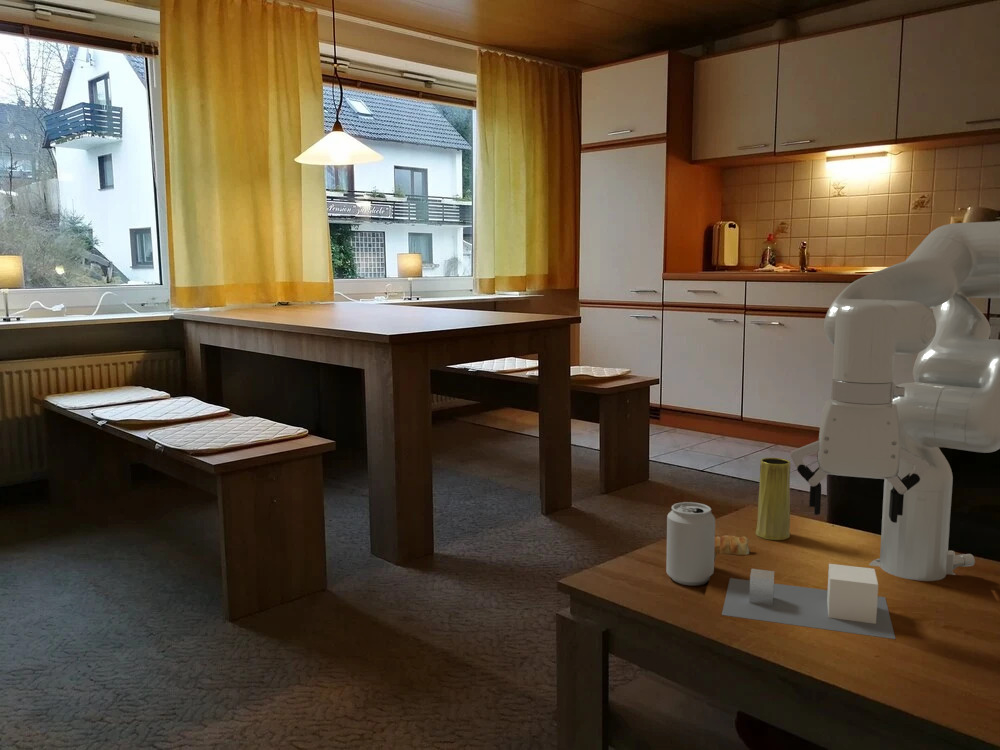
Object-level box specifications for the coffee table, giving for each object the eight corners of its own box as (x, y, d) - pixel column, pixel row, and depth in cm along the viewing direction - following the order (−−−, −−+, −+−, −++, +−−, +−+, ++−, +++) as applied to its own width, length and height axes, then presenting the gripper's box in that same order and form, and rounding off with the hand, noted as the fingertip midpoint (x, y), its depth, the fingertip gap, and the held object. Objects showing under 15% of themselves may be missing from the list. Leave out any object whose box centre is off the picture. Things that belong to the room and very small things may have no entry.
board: (884, 606, 116) (885, 597, 116) (894, 649, 103) (895, 638, 103) (729, 587, 124) (729, 578, 124) (721, 624, 111) (721, 614, 111)
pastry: (693, 561, 136) (694, 539, 135) (694, 548, 142) (694, 527, 142) (750, 565, 134) (751, 544, 133) (748, 552, 140) (749, 531, 140)
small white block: (773, 597, 117) (774, 571, 116) (772, 605, 114) (773, 579, 113) (750, 594, 118) (751, 568, 117) (749, 602, 115) (750, 576, 114)
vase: (758, 540, 145) (760, 464, 143) (753, 529, 151) (755, 456, 149) (792, 541, 144) (795, 465, 142) (786, 530, 150) (789, 457, 148)
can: (715, 589, 124) (717, 515, 122) (666, 585, 125) (667, 512, 123) (712, 571, 131) (714, 501, 129) (666, 568, 132) (667, 498, 131)
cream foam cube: (872, 606, 113) (874, 568, 112) (876, 623, 108) (878, 584, 107) (827, 600, 115) (828, 563, 115) (828, 617, 110) (830, 578, 109)
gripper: (929, 393, 108) (920, 515, 110) (793, 386, 114) (788, 502, 116) (937, 401, 101) (928, 531, 103) (793, 394, 107) (787, 516, 109)
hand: (854, 515), depth 109 cm, fingers open, 9 cm apart
